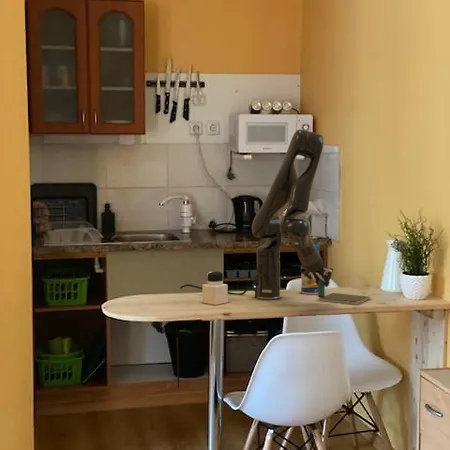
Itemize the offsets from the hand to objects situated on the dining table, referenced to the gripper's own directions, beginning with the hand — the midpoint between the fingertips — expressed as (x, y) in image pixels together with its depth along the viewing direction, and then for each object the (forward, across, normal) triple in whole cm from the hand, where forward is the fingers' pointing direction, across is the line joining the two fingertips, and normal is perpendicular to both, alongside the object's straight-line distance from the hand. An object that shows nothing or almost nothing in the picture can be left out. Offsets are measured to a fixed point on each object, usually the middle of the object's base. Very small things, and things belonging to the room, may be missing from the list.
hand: (323, 284), depth 288 cm
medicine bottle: (-9, +37, +20) cm, 43 cm away
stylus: (+2, 0, +5) cm, 5 cm away
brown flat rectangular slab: (+12, -4, -2) cm, 13 cm away
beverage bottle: (+17, +14, -7) cm, 23 cm away
